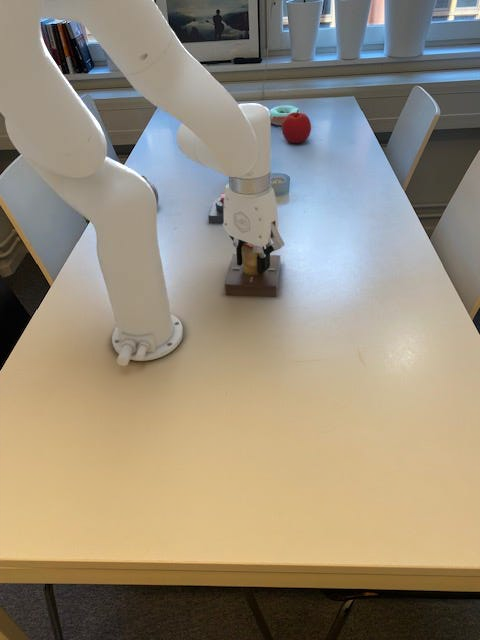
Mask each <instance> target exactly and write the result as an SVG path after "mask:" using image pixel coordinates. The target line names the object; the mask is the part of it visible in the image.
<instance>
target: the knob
mask: <svg viewBox="0 0 480 640" xmlns="http://www.w3.org/2000/svg"><path fill="white" fill-rule="evenodd" d="M241 249H242V267H243V272H244V273H246V274H248V275H258V271H257V257H258V256H259V251H258V247H257V246H255V245H253V244H250V243H244V244H243V246H242V248H241Z"/></svg>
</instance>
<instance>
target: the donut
mask: <svg viewBox="0 0 480 640" xmlns="http://www.w3.org/2000/svg"><path fill="white" fill-rule="evenodd" d="M297 110H299V111H298V113H302V112H301V110H300V109H299V108H298V107H297V106H292V105H280V106H274V107H273V108H271V109H270V110H268V111H269V113H270V121H271V124H272V125H274V126H280V127H282V123H283V120H284V119H285V117H286V116H287V115H289V114H290V113H297Z"/></svg>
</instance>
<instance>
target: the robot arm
mask: <svg viewBox="0 0 480 640" xmlns="http://www.w3.org/2000/svg"><path fill="white" fill-rule="evenodd" d="M42 19H47V20H55V21H64V22H72V23H77V24H81V25H83V26H84V27H85V28H86V30H87V31H88V32H89V33H90V35H91V36H92V37H93V39H94V40H95V41H96V43H98V44H99V46H100V47H101V48H102V50H103V51H104V53H106V54H107V56H108V57H109V58H110V60H111V61H112V62H113V63H114V65H115V66H116V67H117V68H118V70H119V71H120V73H122V75H123V76H124V78H125V79H126V80H127V81H128V83H129V84H130V85H131V86H132V88H133V90H135V91H136V92H137V93H138V94H139V95H141V96H142V97H143V98H145V99H146V100H147V101H148V102H150V103H151V104H152V105H154V106H155V107H156V108H158V109H160V110H162V111H163V112H164V113H166V114H168V115H170V116H172V117H173V118H174V119H176V120H178V121H179V123H181V124H180V125H179V127H178V129H177V131H176V145H177V147H178V149H179V151H180V152H181V153H182V155H183V156H184V157H185V158H187V159H188V160H190V161H192V162H194V163H196V164H199V165H201V166H203V167H205V168H209V169H211V170H213V171H215V172H217V173H219V174H221V175H223V176H225V177H228V183H227V184H226V185H225V188H224V189H225V190H224V193H225V195H224V223H223V224H221V227H222V228H223V230H224V232H225V233H226V234H227V235H228V236H229V238H230V240H231V241H232V245H233V247H234V248H235V252H236V253H235V254H237V265H239V266H240V265H242V249H241V248H242V246H243V244H244V243H250V244H253V245H255V246H257V247H258V251H259V256H258V257H257V271H258V274H262V273H264V272H265V271H266V270H267V269H269V267H270V255H271V253H273V252H275V251H278V250H280V249H282V248H283V247H285V242H284V240H283V238H282V236H281V235H280V233H279V213H278V204H277V199H276V198H277V197H276V193H275V189H274V188H273V187H272V129H271V128H272V126H271V124H272V123H271V121H270V113H269V111H270V110H269V109H268V108H267V107H266V106H264V105H262V104H259V103H240V104H239V103H238V102H237V101H236V100H235V98H234V97H233V96H232V95H231V93H229V91H227V89H226V88H225V87H224V86H223V85H222V83H220V82H219V81H218V80H217V79H216V78H215V77H214V76H213V75H212V74H211V73H210V72H209V71H208V70H207V69H206V68H205V67H204V66H203V65H202V64H201V63H200V62H199V61H198V60H197V59H196V58H195V57H194V56H193V55H192V54H190V53H189V51H188V50H187V49H186V48H185V46H184V45H183V44H182V42H181V41H180V39H179V38H178V36H177V34H176V32H175V31H174V30H173V28H172V27H171V26H170V24H169V23H168V21H167V19H166V18H165V16H164V15H163V13H162V11H161V10H160V8H159V7H158V5H157V4H156V2H155V0H0V114H1V115H2V116H3V118H4V125H5V129H6V133H7V135H8V138H9V140H10V142H11V143H12V145H13V146H14V148H15V149H16V150H17V152H18V153H19V154H20V155H21V156H22V157H23V159H24V160H25V161H26V162H27V163H28V164H29V165H30V166H31V167H32V168H33V169H34V170H35V172H36V173H37V174H38V175H39V176H40V177H41V178H42V179H43V180H44V182H46V183H47V184H48V185H49V187H51V189H52V190H53V191H54V192H55V193H56V195H58V196H59V197H60V198H61V200H63V201H64V203H66V204H67V205H68V206H70V207H71V208H72V209H73V210H75V211H76V212H78V213H79V214H80V215H81V216H83V217H84V218H85V219H86V220H88V221H89V222H90V223H91V224H92V226H93V228H94V231H95V235H96V255H97V260H98V262H99V263H98V265H99V267H100V271H101V273H102V277H103V281H104V286H105V288H106V291H107V295H108V298H109V303H110V306H111V309H112V313H113V316H114V320H115V325H116V327H115V328H114V329H113V332H112V335H111V343H112V347H113V349H114V350H115V352H116V353H117V354H118V356H117V359H116V363H117V364H118V365H120V366H123V367H125V366H128V365H129V363H130V360H131V361H135V362H147V361H152V360H156V359H159V358H162V357H164V356H166V355H168V354H170V353H171V352H173V351H174V350H175V349H176V348H177V347H179V345H180V344H181V342H182V339H183V337H184V327H183V324H182V321H181V320H180V319H179V318H178V317H177V316H176V315H174V314H172V311H171V307H170V306H171V305H170V300H169V295H168V290H167V289H168V288H167V284H166V279H165V278H166V277H165V272H164V267H163V262H162V257H161V252H160V246H159V239H158V206H157V202H156V197H155V194H154V192H153V190H152V188H151V186H150V185H149V184H148V182H147V181H146V180H145V179H144V178H143V177H142V176H143V175H140V174H139V173H138V172H136V171H135V170H134V169H132V168H130V167H128V166H127V165H125V164H123V163H121V162H119V161H116V160H114V159H112V158H111V157H109V156H107V155H108V144H107V143H108V142H107V139H106V134H105V133H104V130H103V129H102V127H101V124H100V122H99V121H98V120H97V118H96V117H95V115H94V114H93V113H92V112H91V110H90V109H89V107H87V105H86V104H85V103H84V102H83V100H82V99H81V97H80V96H79V94H78V93H77V92H76V91H75V89H74V88H73V86H72V84H70V82H69V80H67V78H66V76H65V75H64V74H63V73H62V71H61V69H60V68H59V66H58V64H57V63H56V62H55V60H54V59H53V57H52V55H51V54H50V52H49V50H48V48H47V46H46V43H45V41H44V37H43V31H42V24H41V22H42V21H41V20H42Z"/></svg>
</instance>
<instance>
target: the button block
mask: <svg viewBox="0 0 480 640" xmlns="http://www.w3.org/2000/svg"><path fill="white" fill-rule="evenodd" d="M223 223H224V204H223V203H222V198H221V195H220V196H218V197H217V198H214V200H213V202H212V204H211V208H210V210H209V212H208V224H211V225H212V224H213V225H222V224H223Z"/></svg>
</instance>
